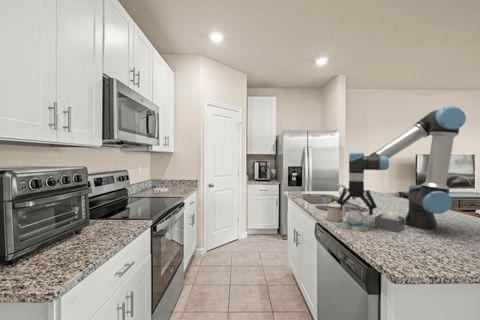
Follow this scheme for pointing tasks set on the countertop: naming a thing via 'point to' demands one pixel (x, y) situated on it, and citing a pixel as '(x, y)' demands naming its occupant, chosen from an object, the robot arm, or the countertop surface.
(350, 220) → the grey rock
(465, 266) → the countertop surface
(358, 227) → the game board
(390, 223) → the dark grey open box
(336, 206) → the teacup with lid
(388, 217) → the dome
